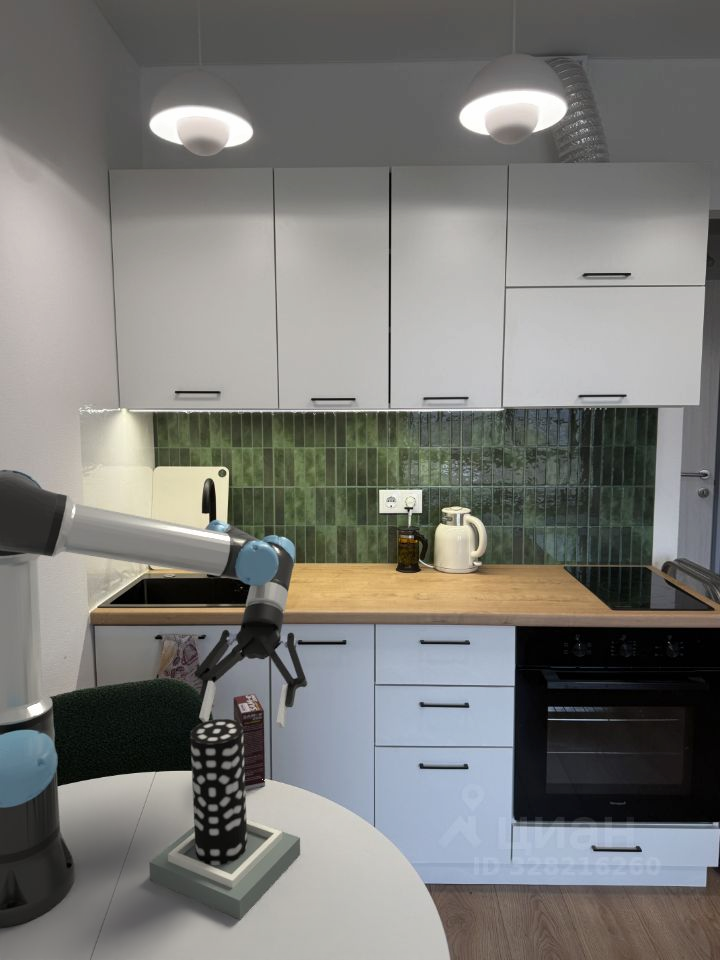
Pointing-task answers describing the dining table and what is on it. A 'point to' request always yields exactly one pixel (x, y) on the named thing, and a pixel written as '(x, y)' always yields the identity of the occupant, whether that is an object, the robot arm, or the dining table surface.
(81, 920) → the dining table surface
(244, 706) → the supplement box
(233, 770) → the black polka dot cylinder
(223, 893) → the tray
